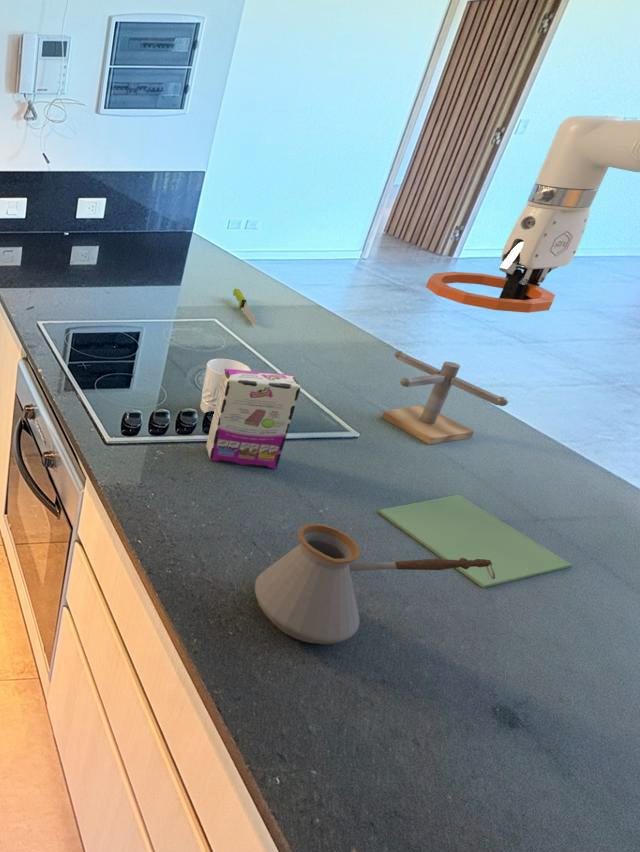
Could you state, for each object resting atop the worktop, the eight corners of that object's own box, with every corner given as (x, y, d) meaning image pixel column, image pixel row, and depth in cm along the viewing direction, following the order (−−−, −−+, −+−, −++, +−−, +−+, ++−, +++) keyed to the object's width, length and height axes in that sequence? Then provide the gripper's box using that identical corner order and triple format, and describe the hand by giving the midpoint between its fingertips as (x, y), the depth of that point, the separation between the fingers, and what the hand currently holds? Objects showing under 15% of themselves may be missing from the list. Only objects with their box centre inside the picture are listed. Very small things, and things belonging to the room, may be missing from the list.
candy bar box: (269, 454, 111) (294, 373, 104) (277, 470, 107) (303, 387, 100) (203, 445, 114) (223, 366, 106) (208, 461, 109) (229, 379, 102)
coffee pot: (253, 639, 76) (286, 547, 69) (245, 574, 85) (273, 487, 79) (464, 698, 69) (523, 601, 62) (430, 620, 78) (478, 529, 72)
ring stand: (396, 398, 129) (420, 339, 123) (501, 453, 111) (535, 387, 105) (336, 407, 126) (357, 347, 120) (434, 465, 108) (465, 398, 102)
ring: (474, 277, 115) (478, 269, 114) (576, 307, 100) (580, 297, 100) (404, 284, 111) (407, 275, 110) (499, 316, 97) (503, 306, 96)
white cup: (226, 400, 128) (237, 357, 124) (247, 420, 121) (259, 375, 117) (190, 402, 128) (199, 359, 124) (208, 422, 121) (219, 377, 117)
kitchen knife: (257, 331, 164) (260, 321, 162) (252, 331, 164) (255, 321, 163) (236, 296, 183) (238, 287, 181) (231, 296, 183) (234, 287, 181)
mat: (457, 496, 100) (458, 494, 100) (570, 567, 86) (572, 564, 86) (377, 512, 97) (378, 509, 97) (482, 588, 83) (484, 585, 83)
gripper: (550, 204, 95) (501, 315, 103) (624, 199, 98) (571, 306, 107) (499, 195, 102) (457, 300, 110) (570, 190, 105) (524, 292, 113)
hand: (513, 302), depth 108 cm, fingers closed on ring, 1 cm apart
